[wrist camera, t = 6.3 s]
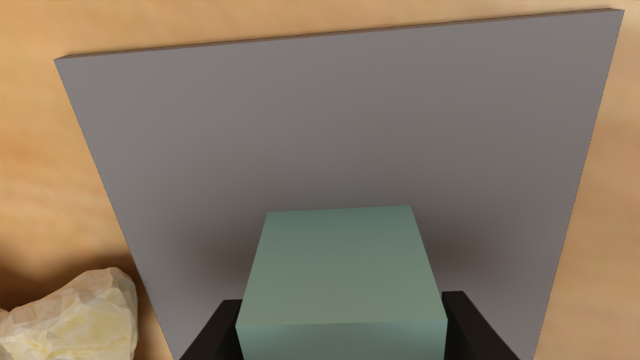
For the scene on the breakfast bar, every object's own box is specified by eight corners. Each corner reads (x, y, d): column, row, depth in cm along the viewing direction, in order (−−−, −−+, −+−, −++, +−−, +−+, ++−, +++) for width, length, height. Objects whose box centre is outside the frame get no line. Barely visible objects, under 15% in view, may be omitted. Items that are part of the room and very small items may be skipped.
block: (410, 205, 13) (447, 319, 9) (406, 309, 16) (434, 441, 11) (267, 212, 14) (235, 326, 9) (285, 313, 16) (266, 442, 12)
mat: (610, 8, 11) (624, 9, 10) (520, 375, 18) (525, 387, 18) (65, 55, 12) (53, 59, 11) (191, 383, 19) (187, 394, 19)
